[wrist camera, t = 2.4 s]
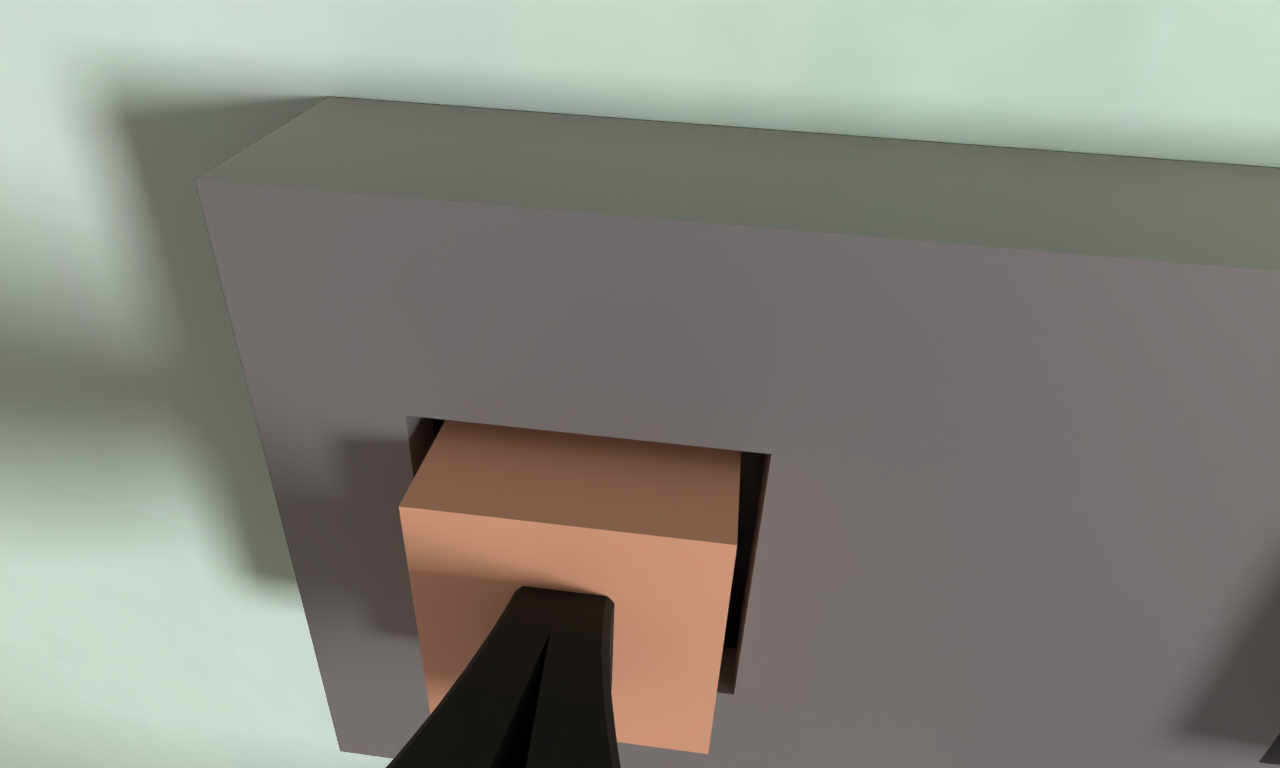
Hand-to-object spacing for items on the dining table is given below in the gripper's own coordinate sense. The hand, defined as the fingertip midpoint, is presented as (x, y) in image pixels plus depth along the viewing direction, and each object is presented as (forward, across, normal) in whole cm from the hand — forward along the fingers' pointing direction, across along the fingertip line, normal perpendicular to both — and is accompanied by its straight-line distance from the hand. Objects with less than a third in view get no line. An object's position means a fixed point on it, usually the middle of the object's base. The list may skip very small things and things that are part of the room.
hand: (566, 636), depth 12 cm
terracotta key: (+3, 0, 0) cm, 3 cm away
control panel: (+5, -7, 0) cm, 9 cm away
